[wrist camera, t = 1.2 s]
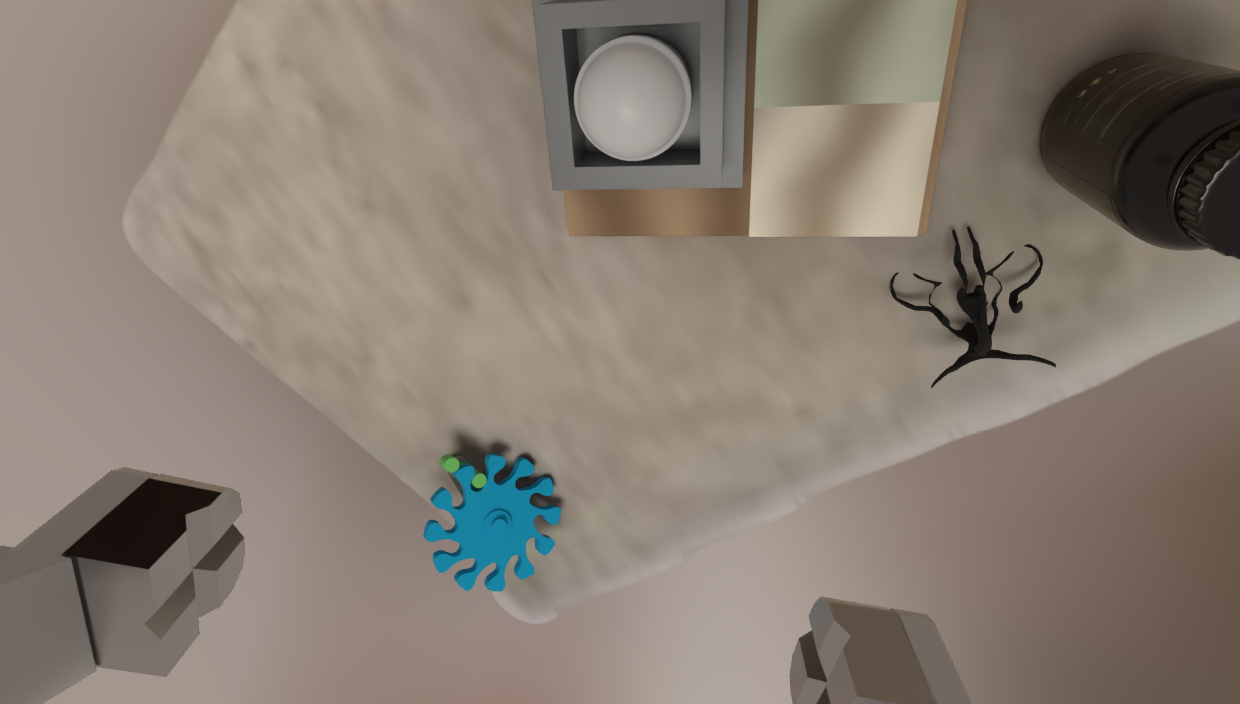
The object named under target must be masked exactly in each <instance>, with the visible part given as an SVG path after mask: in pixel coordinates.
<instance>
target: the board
mask: <svg viewBox="0 0 1240 704" xmlns="http://www.w3.org/2000/svg"><path fill="white" fill-rule="evenodd" d="M967 1H968V0H748V26H747V57H746V88H745V118H744V149H743V180H742V188H677V189H606V190H564V193H565V203H566V212H567V222H568V232H569V236H749V237H880V236H917V235H926V231H927V226H928V220H929V214H930V209H931V203H932V197H933V192H934V186H935V181H936V175H937V169H938V164H939V158H940V152H941V147H942V141H943V136H944V130H945V124H946V119H947V113H948V107H949V102H950V96H951V91H952V85H953V79H954V74H955V68H956V62H957V57H958V51H959V46H960V40H961V34H962V29H963V23H964V18H965V12H966V6H967Z"/></svg>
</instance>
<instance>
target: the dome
mask: <svg viewBox="0 0 1240 704" xmlns="http://www.w3.org/2000/svg"><path fill="white" fill-rule="evenodd" d="M692 100H693V84H692V78H691V74H690V71H689V69H688V66H687V64H686V62H685V61H684V59H683V57H682V56H681V55H680V53H679V52H678V51H677V50H676V49H675V48H674V47H673V46H672V45H671V44H669V43H668V42H666V41H665V40H663V39H661V38H659V37H657V36H654V35H651V34H646V33H628V34H624V35H620V36H618V37H616V38H613V39H612V40H610V41H608V42H607V43H605V44H604V45H602V46H601V47H599V48H598V49H597V50H596V51H594V52H593V53H592V54H591V55H590V57H589V58H588V59H587V60H586V62H585V63H584V64H583V66H582V68H581V70H580V72H579V74H578V77H577V80H576V84H575V90H574V106H575V112H576V116H577V119H578V122H579V124H580V127H581V129H582V130H583V132H584V134H585V135H586V136H587V138H588V139H589V140H590V141H591V142H592V144H593V145H594V146H596V147H597V148H598V149H599V150H601V151H602V152H604V153H605V154H607V155H609V156H612V157H614V158H617V159H621V160H626V161H640V160H646V159H650V158H652V157H655V156H657V155H659V154H661V153H663V152H664V151H665V150H667V149H668V148H669V147H670V146H671V145H673V144H674V142H675V141H676V140H677V139H678V138H679V136H680V135H681V133H682V131H683V129H684V127H685V125H686V123H687V120H688V116H689V113H690V110H691V106H692Z"/></svg>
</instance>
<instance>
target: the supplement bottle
mask: <svg viewBox="0 0 1240 704" xmlns="http://www.w3.org/2000/svg"><path fill="white" fill-rule="evenodd" d="M1041 150H1042V156H1043V160H1044V164H1045V166H1046V168H1047V170H1048V172H1049V173H1050V175H1051V176H1052V177H1053V178H1054V180H1055V181H1056V182H1058V183H1059V184H1060V185H1061V186H1062V187H1064V188H1065V189H1066V190H1068V191H1069V192H1070V193H1072V194H1073V195H1075V196H1076V197H1078V198H1079V199H1081V200H1082V201H1084V202H1085V203H1086V204H1088V205H1089V206H1091V207H1092V208H1094V209H1095V210H1097V211H1098V212H1100V213H1101V214H1103V215H1104V216H1106V217H1107V218H1109V219H1110V220H1112V221H1113V222H1115V223H1116V224H1117V225H1119V226H1120V227H1122V228H1123V229H1125V230H1126V231H1128V232H1129V233H1131V234H1132V235H1134V236H1135V237H1137V238H1139V239H1141V240H1143V241H1145V242H1147V243H1149V244H1152V245H1154V246H1157V247H1161V248H1166V249H1171V250H1185V251H1191V250H1203V249H1211V250H1214V251H1216V252H1218V253H1220V254H1222V255H1224V256H1232V257H1234V258H1237V259H1240V70H1235V69H1230V68H1225V67H1220V66H1215V65H1210V64H1206V63H1201V62H1196V61H1191V60H1186V59H1181V58H1176V57H1171V56H1165V55H1158V54H1148V53H1140V54H1130V55H1125V56H1120V57H1117V58H1113V59H1111V60H1108V61H1106V62H1103V63H1101V64H1099V65H1097V66H1095V67H1093V68H1092V69H1090V70H1088V71H1087V72H1085V73H1084V74H1082V75H1081V76H1080V77H1078V78H1077V79H1076V80H1075V81H1074V82H1072V83H1071V84H1070V85H1069V86H1068V87H1067V88H1066V89H1065V90H1064V92H1063V93H1062V94H1061V95H1060V96H1059V98H1058V99H1057V101H1056V102H1055V103H1054V105H1053V107H1052V108H1051V110H1050V112H1049V114H1048V116H1047V119H1046V121H1045V124H1044V128H1043V132H1042V138H1041Z"/></svg>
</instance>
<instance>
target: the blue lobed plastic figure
mask: <svg viewBox="0 0 1240 704" xmlns="http://www.w3.org/2000/svg"><path fill="white" fill-rule="evenodd" d="M505 463H506V459H505V458H503V457H502V456H500V455H497V454H491V453H488V454H487V455H486V457H485V465H486V473H485V475H483V474H482V473H481V472H479V471H477V470H475V469H474V467H473V466H471V463H470V462H469V460H467V459H466V458H464V457H462V456H455V457H453V456H452V455H449V454H447V455H444V456H443V457H442V458H441V460H440V464H441V466H442V467H443V468H444V469H445V470H446V471H447V472H448V474H449V475H450V477H451V479H452V480H453V482H454V484H455V485H456V487H457V488H458V490H459V492H460V493H461V495H462V497H463V502H462V504H461V505H460V506H457V507H453V506H452V496H451V494H450V492H449V491H448V490H446V489H445V488H443V487H441V488H440V489H438V490H437V491H436V492H435V493H434V494H433V496H432V497H431V498H430V500H431V502H432V503H433V504H434V506H436V507H437V508H440V509H444V510H447V511H448V512H450V513H451V514H452V516H453V518H454V519H455V526H454V527H453V528H452V529H451V530H444V529H443V528H442V526H441V525H440V524H439V523H438V522H437V521H435V520H429V521H428V522H427V523H426V526H425V530H424V535H423V536H424V537H425V539H426V540H427V541H430V542H435V541H438V540H442V539H450V540H453V541H456V542H459V544H460V546H459V549H458V550H457V551H456V552H454V553H448V552H446V551H443V550H439V551H436V552H435V553H434V554H433V561H434V565H435V567H436V569H437V570H438V572H440V573H441V572H445V571H447V570H448V569H449V568H450V567H451V566H452V565H453V564H455V563H456V562H458V561H461V560H464V559H469V558H474V559H475V563H474V565H473V566H472V567H471V568H469V569H463V570H460V571H458V572H457V573H456V574H455V576H454V579H455V580H456V582H457V583H458V585H459V586H460V587H462V588H463V589H464V590H466V591H468V590H470V589H471V588H472V587H473V586H474V583H475V580H476V578H477V576H478V575H479V573H480V572H481V571H482V570H483V569H484V568H485V567H486V566H488V565H489V564H491V563H496V565H497V566H496V569H495V570H494V571H493V572H492V573H490V574H489V575H488V576H487V577H486V579H485V586H486V587H487V588H488V589H489V590H491V591H503V589H504V588H505V579H504V573H505V568H506V566H507V563H508V561H509V560H510V558H511V557H512V556H513V555H518V561H517V563H516V565H515V567H514V572H515V574H516V575H517V576H518V577H519V578H520V579H525V578H527V577H529V576H531V575H533V574H534V567H533V565H532V564H531V563H530V562H529V561H528V558H527V555H526V542H527V540H528V539H530V538H532V537H535V547H536V549H537V550H538V551H539V552H540V553H541V554H542V555H546V554H548V553H549V552H550V551H551V549H552V548H553V547H554V545H555V542H554V540H553V539H551V538H550V537H549V536H547V535H543V534H540V533H539V532H538V531H537V530H536V528H535V526H534V524H533V521H534V519H535V517H536V516H538V515H542V516H543V518H544V519H545V520H546V521H547V522H548V523H550V524H552V525H555V524H557V523H558V521H559V519H560V515H561V509H560V508H558V507H557V506H555V505H548V506H545V507H537V506H534V505H531V504H530V497H531V495H532V494H534V493H540V494H542V495H544V496H549V495H551V494H552V493H553V490H554V489H553V484H552V481H551V479H550V478H548V477H546V476H542V477H540V478H539V479H538V480H537V481H536V482H535V483H533V484H532V485H530V486H527V487H523V488H516V487H515V482H516V480H517V479H518V478H520V477H524V476H529V475H531V474H532V473H533V472H534V470H535V468H534V466H533V465H532V464H531V463H530V462H529V461H528V460H526V459H525V458H523V457H520V458H518V459H517V460H516V462H515V465H514V468H513V470H512V471H511V473H510V474H509V475H508V476H507V477H506V478H505V479H503V480H502V481H500V482H498V483H495V482H494V475H495V474H496V473H497V472H498V471H500V470H501V469H502V468H503V467H504V466H505Z"/></svg>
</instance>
